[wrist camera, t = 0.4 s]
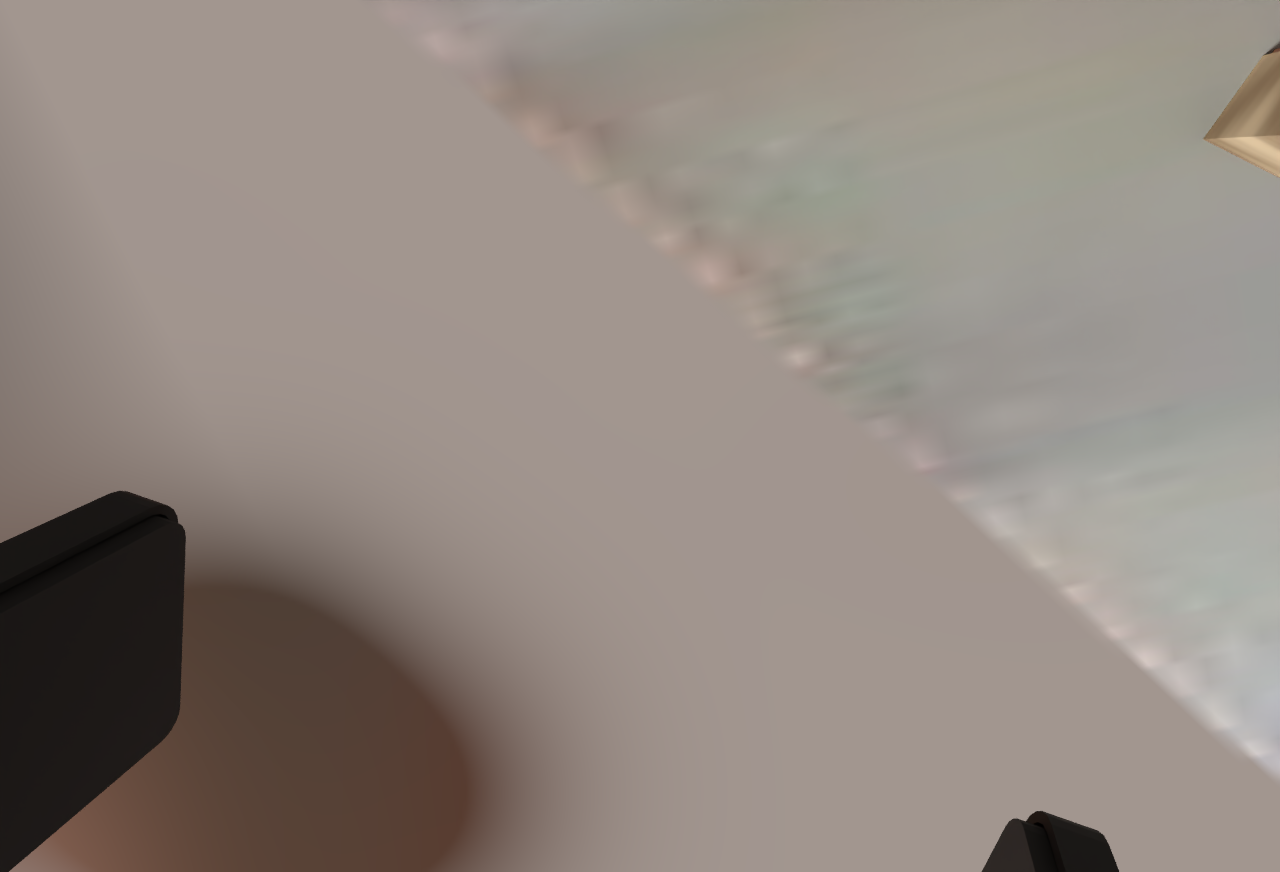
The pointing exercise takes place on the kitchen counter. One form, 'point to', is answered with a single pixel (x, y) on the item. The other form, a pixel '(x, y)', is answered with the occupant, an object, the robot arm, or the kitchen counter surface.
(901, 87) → the kitchen counter surface
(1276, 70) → the tan wooden block
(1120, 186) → the kitchen counter surface
